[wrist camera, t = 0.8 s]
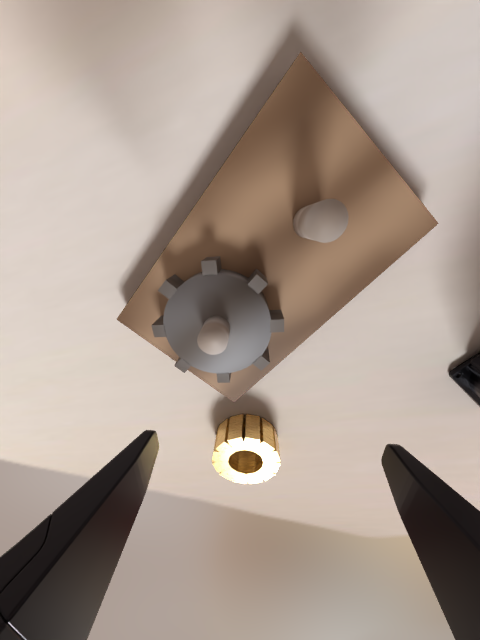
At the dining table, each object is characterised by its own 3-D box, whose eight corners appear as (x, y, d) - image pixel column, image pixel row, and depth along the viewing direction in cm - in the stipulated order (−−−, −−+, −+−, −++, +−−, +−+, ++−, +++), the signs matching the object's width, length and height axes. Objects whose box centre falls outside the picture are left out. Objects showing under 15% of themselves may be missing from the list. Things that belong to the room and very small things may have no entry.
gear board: (418, 223, 17) (509, 223, 11) (235, 388, 24) (229, 444, 18) (294, 74, 14) (324, -38, 8) (128, 311, 21) (78, 345, 15)
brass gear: (289, 437, 26) (293, 462, 23) (249, 465, 28) (248, 492, 26) (243, 404, 24) (242, 427, 22) (204, 437, 27) (199, 462, 24)
